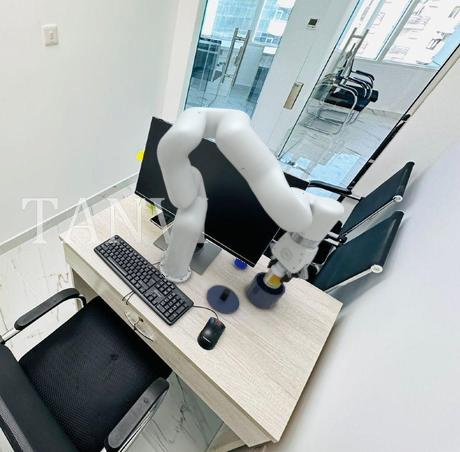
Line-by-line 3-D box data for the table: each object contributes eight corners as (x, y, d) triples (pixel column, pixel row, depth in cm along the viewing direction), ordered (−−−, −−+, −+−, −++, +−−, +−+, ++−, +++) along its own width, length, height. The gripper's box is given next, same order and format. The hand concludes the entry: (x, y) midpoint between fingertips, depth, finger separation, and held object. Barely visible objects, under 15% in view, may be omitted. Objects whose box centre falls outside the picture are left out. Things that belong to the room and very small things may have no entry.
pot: (240, 288, 98) (248, 275, 92) (261, 282, 100) (271, 269, 94) (257, 312, 91) (268, 299, 85) (280, 305, 93) (291, 292, 87)
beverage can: (247, 271, 104) (262, 246, 94) (234, 268, 105) (248, 243, 95) (245, 261, 108) (259, 236, 98) (232, 259, 108) (246, 234, 98)
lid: (200, 290, 96) (204, 281, 92) (226, 283, 99) (231, 275, 95) (217, 318, 88) (222, 309, 84) (244, 309, 91) (250, 301, 87)
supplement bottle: (282, 287, 88) (297, 270, 81) (269, 290, 87) (282, 272, 80) (272, 274, 92) (285, 257, 85) (259, 277, 90) (271, 259, 84)
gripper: (274, 219, 79) (251, 257, 91) (320, 261, 67) (287, 298, 79) (293, 215, 81) (268, 253, 93) (341, 255, 69) (305, 292, 81)
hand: (277, 273), depth 86 cm, fingers closed on supplement bottle, 5 cm apart
